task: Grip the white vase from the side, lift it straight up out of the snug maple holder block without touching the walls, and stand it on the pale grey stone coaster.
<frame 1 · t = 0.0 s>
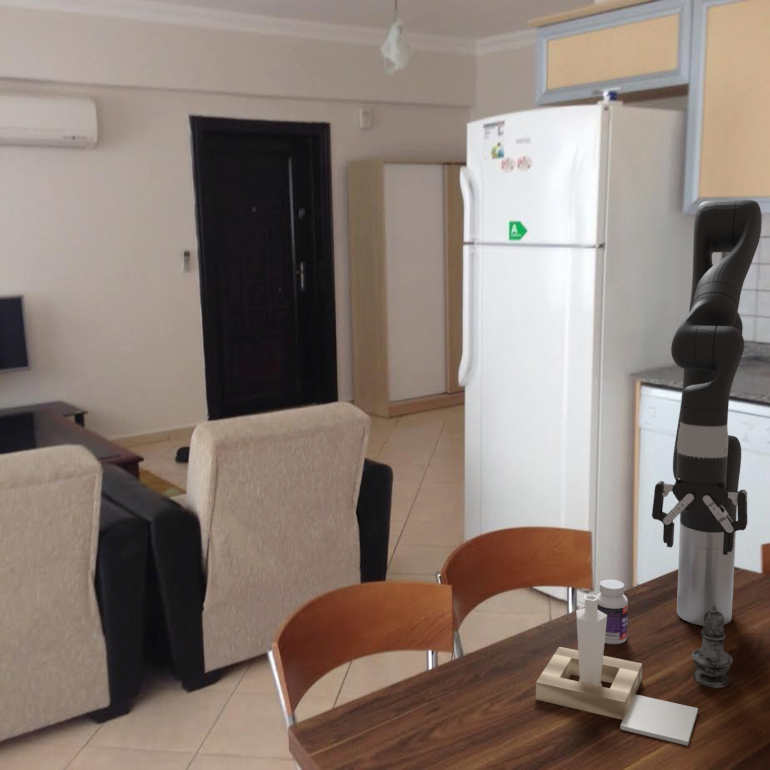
hand: (697, 549, 139), 17 cm above the table, tool pointing down, fingers open, 8 cm apart
pill bottle: (610, 638, 147), on the table
black chess piece: (711, 679, 133), on the table
white vase: (589, 690, 131), resting in holder
coaster: (659, 720, 122), on the table
holder: (589, 689, 131), on the table
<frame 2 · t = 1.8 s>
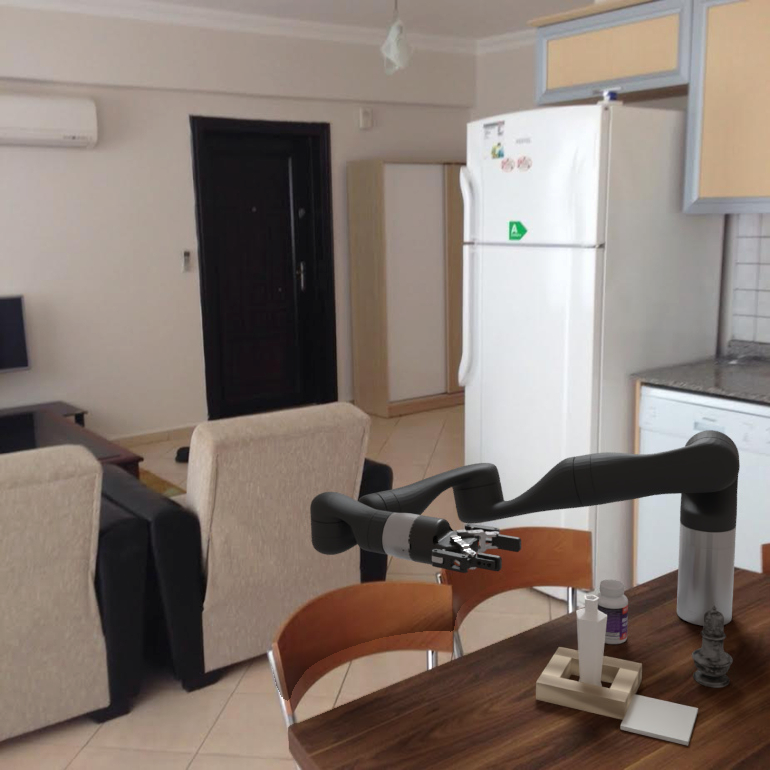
hand: (510, 554, 132), 20 cm above the table, tool horizontal, fingers open, 8 cm apart
nothing on the table moved.
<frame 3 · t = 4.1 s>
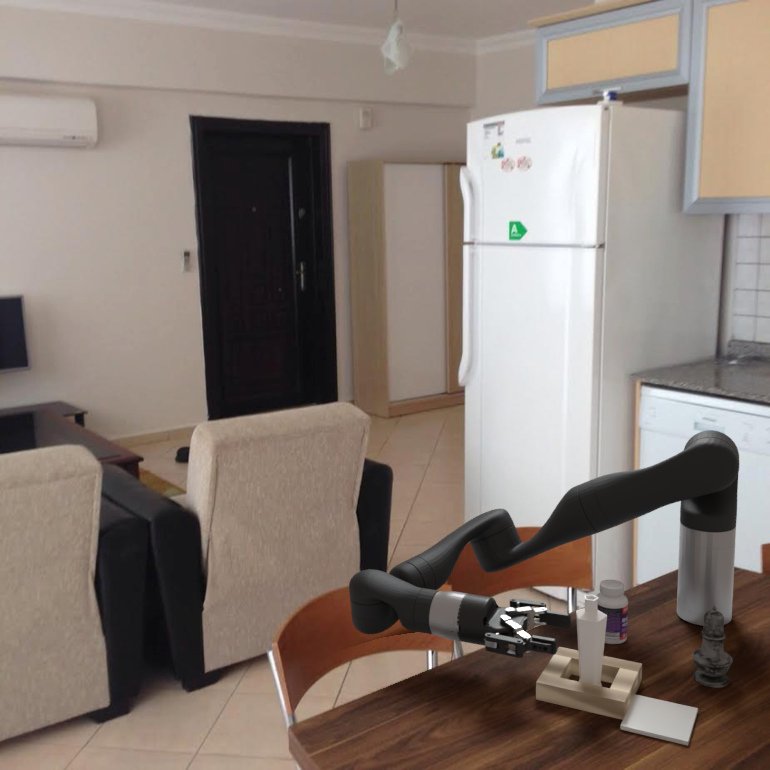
hand: (563, 634, 131), 8 cm above the table, tool horizontal, fingers open, 8 cm apart
nothing on the table moved.
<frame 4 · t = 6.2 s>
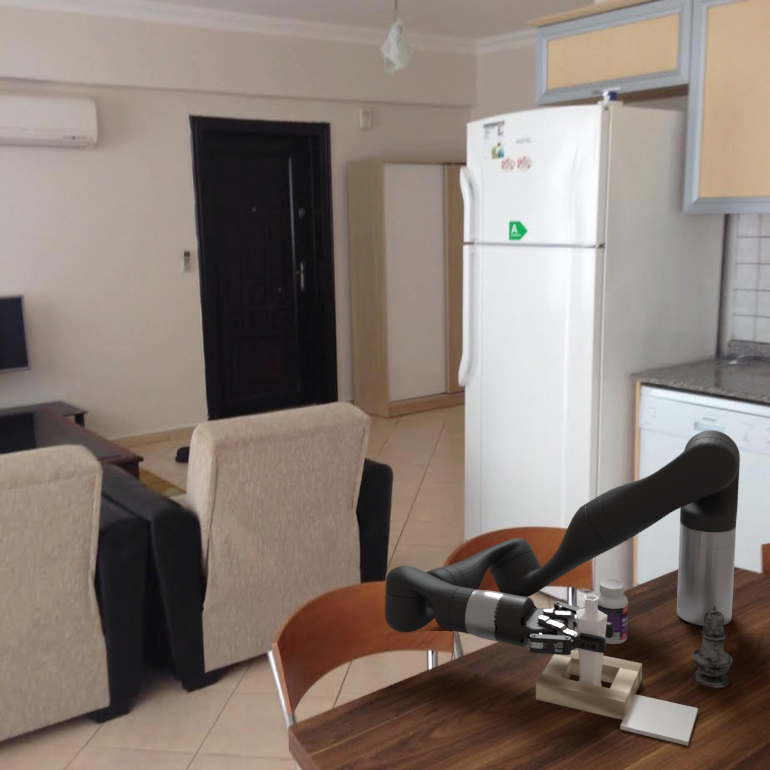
hand: (608, 638, 128), 9 cm above the table, tool horizontal, fingers closed on white vase, 4 cm apart
white vase: (589, 691, 131), resting in holder, touching gripper
everything else where it was.
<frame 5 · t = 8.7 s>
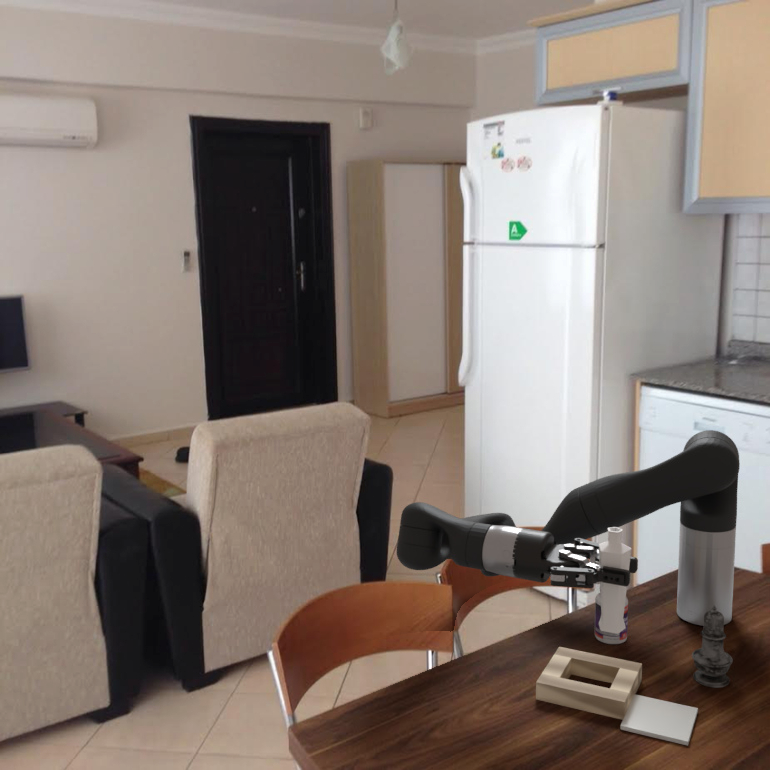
hand: (632, 572, 123), 21 cm above the table, tool horizontal, fingers closed on white vase, 4 cm apart
white vase: (611, 627, 126), point 11 cm above the table, touching gripper
everything else where it was.
when the fingers open (11 cm above the table, at t = 11.4 s): white vase drops 1 cm, resting on coaster.
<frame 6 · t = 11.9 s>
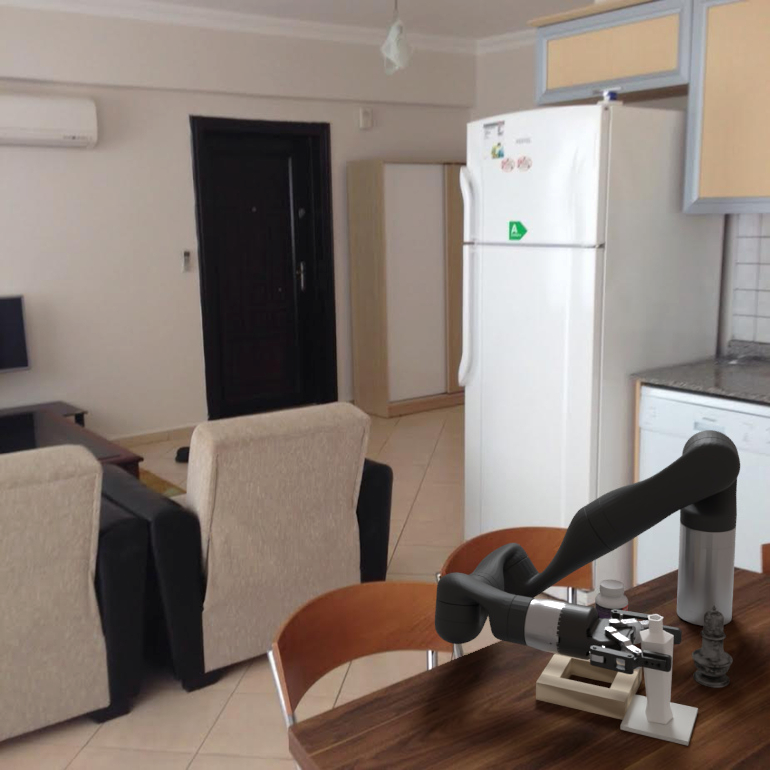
hand: (676, 650, 119), 11 cm above the table, tool horizontal, fingers open, 8 cm apart
white vase: (658, 716, 122), point 1 cm above the table, touching coaster
everything else where it was.
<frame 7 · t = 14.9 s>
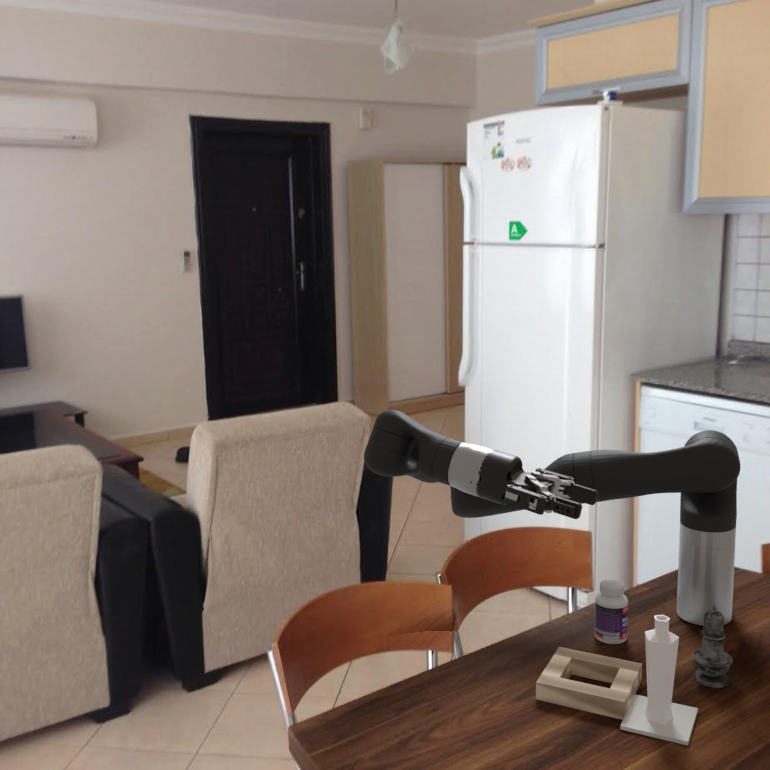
hand: (588, 505, 123), 30 cm above the table, tool horizontal, fingers open, 8 cm apart
nothing on the table moved.
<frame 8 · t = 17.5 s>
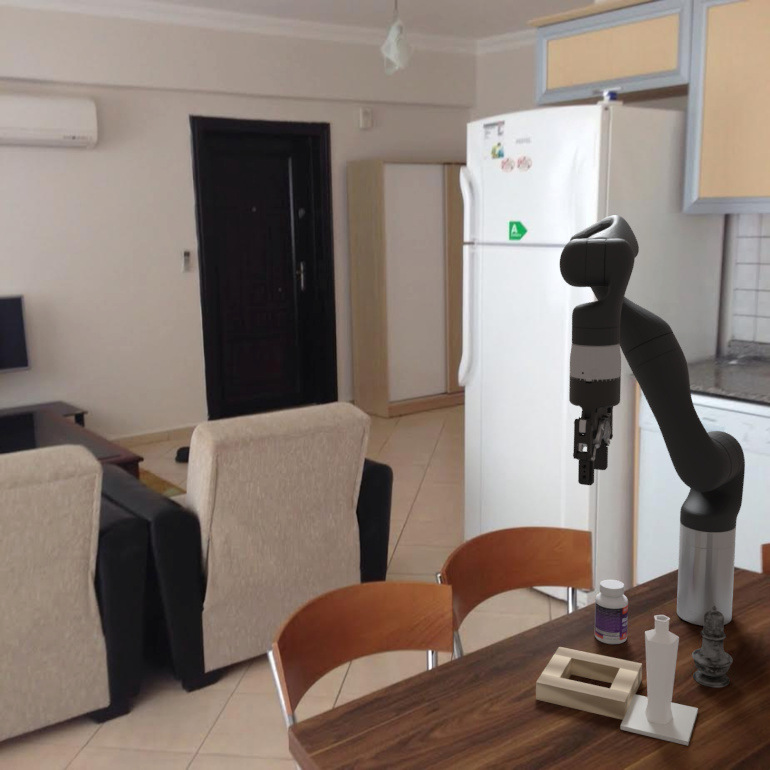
hand: (593, 476, 133), 31 cm above the table, tool pointing down, fingers open, 8 cm apart
nothing on the table moved.
at the end: white vase inside the target area on the coaster (0.2 cm from its centre), point 0.4 cm above the coaster's base; white vase tilted 0°; the gripper is holding nothing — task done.
